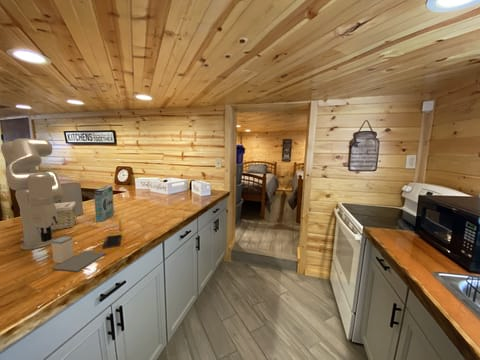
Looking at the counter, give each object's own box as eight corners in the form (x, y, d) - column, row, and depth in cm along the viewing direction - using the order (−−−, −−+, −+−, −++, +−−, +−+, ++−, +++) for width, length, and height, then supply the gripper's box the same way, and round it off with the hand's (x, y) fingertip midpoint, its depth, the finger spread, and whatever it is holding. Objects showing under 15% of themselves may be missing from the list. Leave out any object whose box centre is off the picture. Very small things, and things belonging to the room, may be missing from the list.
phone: (102, 247, 100) (106, 236, 113) (102, 249, 100) (106, 238, 113) (119, 244, 104) (122, 234, 117) (120, 246, 104) (122, 236, 117)
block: (53, 262, 88) (51, 241, 86) (64, 256, 93) (62, 236, 91) (63, 263, 87) (61, 241, 86) (74, 257, 92) (72, 237, 91)
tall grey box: (84, 212, 161) (81, 182, 158) (81, 216, 150) (78, 184, 147) (64, 214, 155) (61, 183, 151) (60, 218, 144) (56, 185, 141)
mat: (52, 269, 82) (51, 268, 82) (84, 252, 97) (84, 250, 97) (77, 272, 81) (77, 270, 81) (106, 253, 95) (106, 252, 95)
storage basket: (21, 235, 114) (18, 211, 112) (31, 227, 128) (28, 205, 126) (74, 228, 127) (72, 206, 125) (78, 220, 140) (76, 201, 139)
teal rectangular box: (107, 214, 157) (105, 186, 154) (114, 213, 158) (112, 185, 155) (95, 222, 138) (93, 190, 135) (103, 221, 139) (101, 190, 136)
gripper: (17, 202, 84) (23, 243, 87) (47, 204, 83) (52, 245, 85) (37, 199, 92) (41, 236, 94) (65, 200, 90) (69, 238, 92)
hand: (46, 240), depth 89 cm, fingers closed
